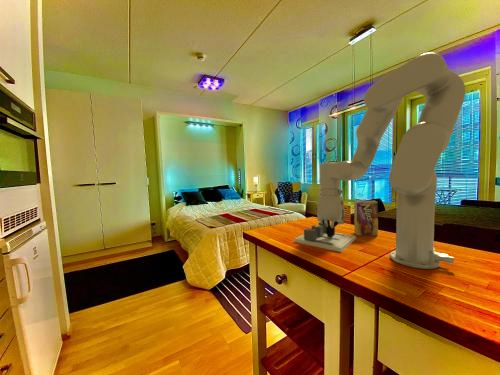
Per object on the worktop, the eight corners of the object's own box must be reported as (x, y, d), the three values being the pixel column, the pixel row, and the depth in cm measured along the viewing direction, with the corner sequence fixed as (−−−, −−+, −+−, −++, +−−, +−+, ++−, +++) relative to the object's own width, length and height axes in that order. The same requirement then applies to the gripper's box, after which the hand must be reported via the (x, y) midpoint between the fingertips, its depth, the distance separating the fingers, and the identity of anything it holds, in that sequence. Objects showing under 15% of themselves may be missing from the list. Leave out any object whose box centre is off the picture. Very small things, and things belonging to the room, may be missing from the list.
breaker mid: (323, 235, 93) (323, 225, 93) (320, 236, 91) (320, 227, 90) (314, 233, 96) (314, 224, 95) (311, 235, 93) (311, 225, 93)
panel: (355, 239, 91) (355, 235, 91) (341, 252, 78) (341, 247, 78) (313, 232, 104) (313, 228, 104) (294, 242, 91) (294, 238, 90)
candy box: (374, 233, 99) (374, 200, 98) (378, 235, 95) (378, 201, 94) (353, 232, 101) (353, 200, 100) (356, 235, 97) (356, 201, 96)
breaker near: (316, 239, 88) (316, 229, 87) (313, 241, 86) (313, 231, 85) (307, 237, 90) (307, 228, 90) (304, 239, 88) (303, 229, 88)
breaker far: (329, 231, 98) (329, 222, 98) (327, 232, 96) (327, 224, 96) (321, 229, 101) (321, 221, 101) (318, 231, 99) (318, 222, 98)
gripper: (352, 192, 86) (352, 237, 87) (316, 191, 96) (317, 231, 97) (346, 194, 80) (346, 242, 82) (308, 193, 90) (309, 235, 92)
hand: (330, 236), depth 89 cm, fingers closed
